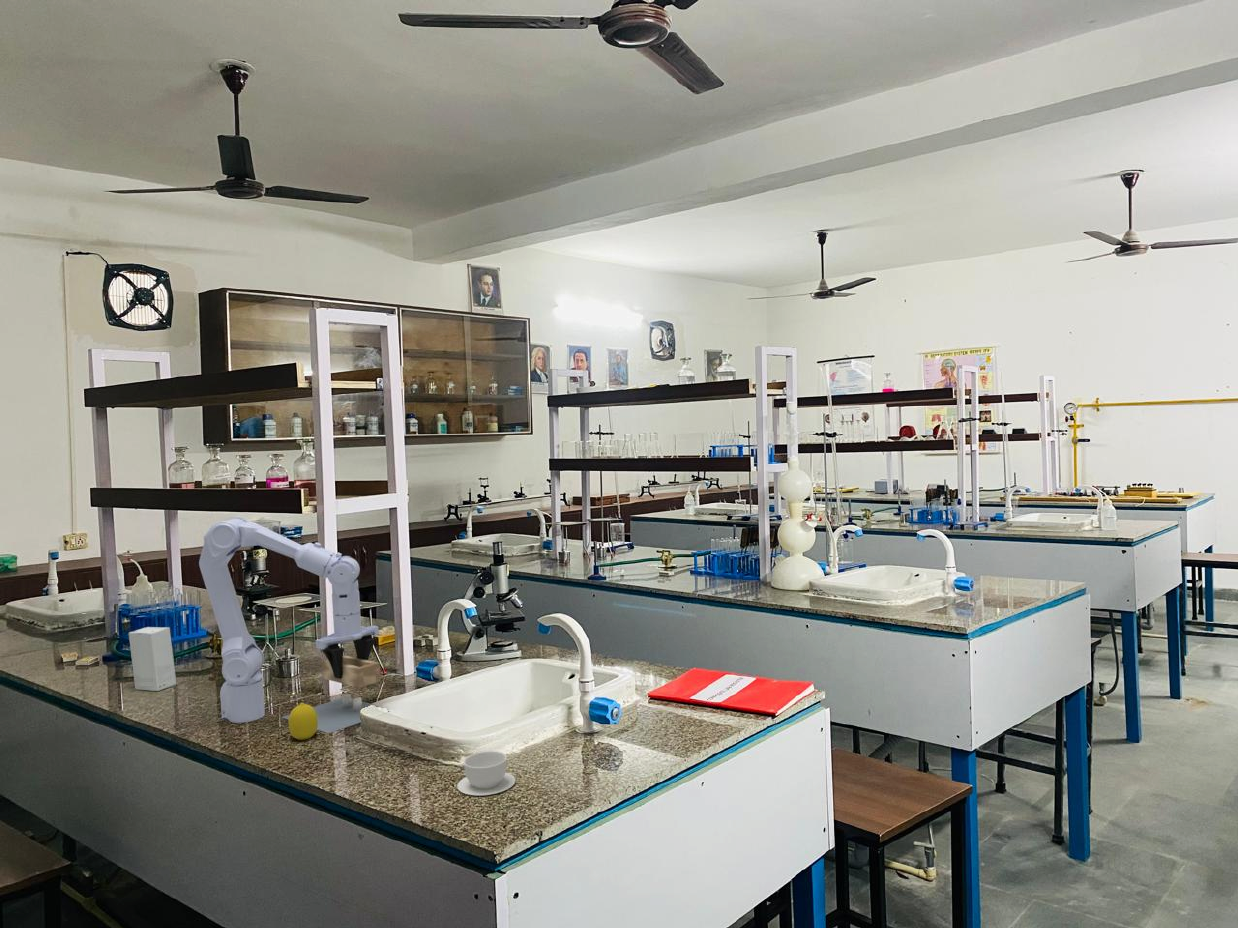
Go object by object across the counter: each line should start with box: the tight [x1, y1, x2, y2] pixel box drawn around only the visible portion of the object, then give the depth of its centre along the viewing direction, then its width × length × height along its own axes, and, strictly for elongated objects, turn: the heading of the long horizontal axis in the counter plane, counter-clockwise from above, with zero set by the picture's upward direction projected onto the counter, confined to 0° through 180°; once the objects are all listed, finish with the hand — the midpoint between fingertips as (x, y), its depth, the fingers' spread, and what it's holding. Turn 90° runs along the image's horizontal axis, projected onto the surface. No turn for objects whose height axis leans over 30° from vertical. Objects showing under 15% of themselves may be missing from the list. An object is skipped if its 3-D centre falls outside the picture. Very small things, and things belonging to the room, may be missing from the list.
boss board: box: [281, 693, 374, 734], centre depth 187 cm, size 18×16×4 cm
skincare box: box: [128, 626, 177, 692], centre depth 217 cm, size 8×6×15 cm
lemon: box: [288, 702, 318, 741], centre depth 173 cm, size 6×6×8 cm
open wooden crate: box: [320, 654, 382, 688], centre depth 190 cm, size 14×5×4 cm, turn 51°
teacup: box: [456, 750, 517, 797], centre depth 149 cm, size 10×10×5 cm
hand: (350, 674), depth 190 cm, fingers closed on open wooden crate, 5 cm apart
